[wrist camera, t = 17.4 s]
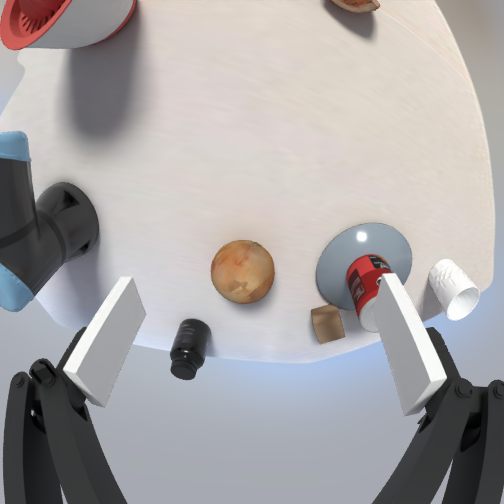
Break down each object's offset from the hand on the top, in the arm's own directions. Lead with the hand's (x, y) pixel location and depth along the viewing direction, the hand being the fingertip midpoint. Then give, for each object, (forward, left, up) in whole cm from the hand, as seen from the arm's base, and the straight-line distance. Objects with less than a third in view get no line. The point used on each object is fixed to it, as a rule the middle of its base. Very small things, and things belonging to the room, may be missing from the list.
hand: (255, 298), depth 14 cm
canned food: (+17, -18, -28) cm, 37 cm away
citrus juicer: (-23, +31, -29) cm, 48 cm away
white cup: (+35, -20, -29) cm, 50 cm away
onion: (-4, -15, -29) cm, 33 cm away
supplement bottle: (-16, -33, -29) cm, 47 cm away
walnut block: (+11, -29, -29) cm, 42 cm away
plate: (+17, -18, -29) cm, 38 cm away
